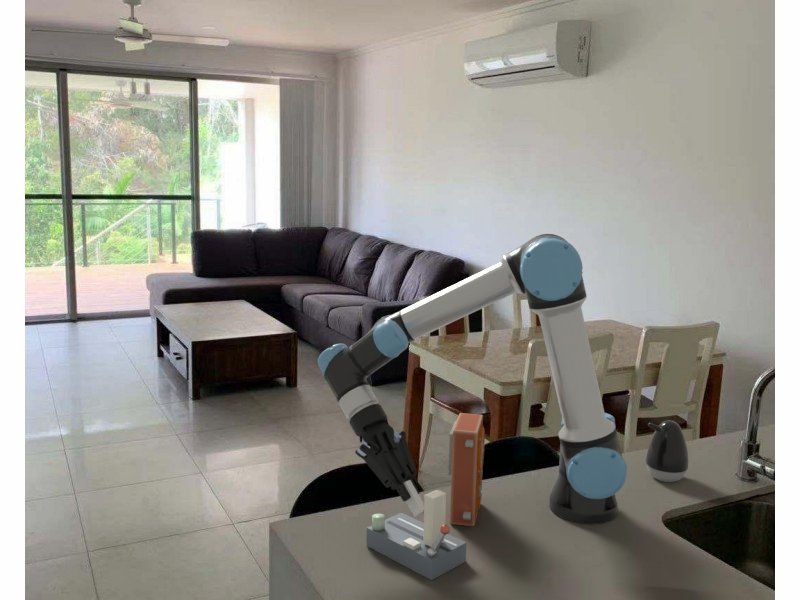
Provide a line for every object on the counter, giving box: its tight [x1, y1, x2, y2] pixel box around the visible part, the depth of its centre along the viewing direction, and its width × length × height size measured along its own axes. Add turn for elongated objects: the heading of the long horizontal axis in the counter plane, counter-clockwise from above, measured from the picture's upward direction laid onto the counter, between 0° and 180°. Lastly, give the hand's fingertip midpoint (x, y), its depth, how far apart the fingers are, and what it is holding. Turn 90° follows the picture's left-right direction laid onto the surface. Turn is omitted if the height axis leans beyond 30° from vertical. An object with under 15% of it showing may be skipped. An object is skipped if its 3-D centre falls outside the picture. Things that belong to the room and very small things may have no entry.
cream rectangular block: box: [423, 489, 447, 547], centre depth 144 cm, size 2×4×10 cm, turn 135°
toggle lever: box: [426, 524, 451, 557], centre depth 139 cm, size 2×2×8 cm
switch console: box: [366, 512, 467, 581], centre depth 149 cm, size 18×10×5 cm, turn 45°
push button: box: [371, 513, 386, 531], centre depth 150 cm, size 3×3×2 cm
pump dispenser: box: [645, 420, 690, 483], centre depth 188 cm, size 10×10×15 cm
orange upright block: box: [447, 412, 486, 527], centre depth 166 cm, size 21×7×15 cm
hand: (420, 512), depth 147 cm, fingers closed
